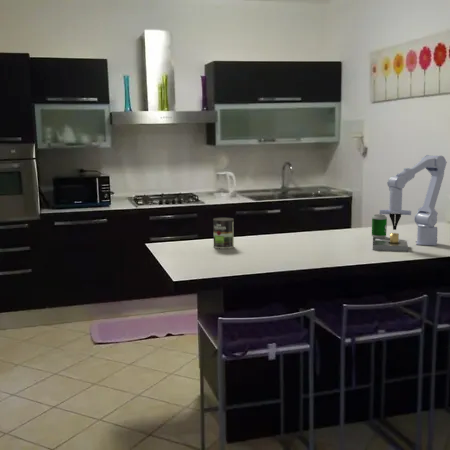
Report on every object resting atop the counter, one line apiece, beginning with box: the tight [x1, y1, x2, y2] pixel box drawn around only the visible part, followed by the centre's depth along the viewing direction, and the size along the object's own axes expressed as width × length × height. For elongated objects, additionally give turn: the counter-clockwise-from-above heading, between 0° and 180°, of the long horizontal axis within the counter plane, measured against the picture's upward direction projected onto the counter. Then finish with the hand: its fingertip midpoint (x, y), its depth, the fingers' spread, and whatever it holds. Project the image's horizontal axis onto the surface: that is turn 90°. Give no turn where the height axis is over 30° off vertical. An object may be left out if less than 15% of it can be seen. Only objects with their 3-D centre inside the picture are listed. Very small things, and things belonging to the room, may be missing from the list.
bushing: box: [389, 232, 400, 244], centre depth 272 cm, size 4×4×7 cm
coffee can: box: [212, 217, 235, 250], centre depth 280 cm, size 10×10×14 cm
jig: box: [372, 236, 409, 252], centre depth 272 cm, size 16×12×4 cm
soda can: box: [371, 213, 388, 240], centre depth 298 cm, size 8×8×12 cm
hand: (394, 229), depth 271 cm, fingers closed
